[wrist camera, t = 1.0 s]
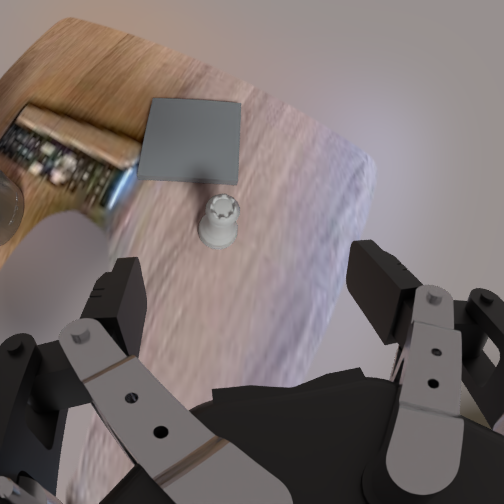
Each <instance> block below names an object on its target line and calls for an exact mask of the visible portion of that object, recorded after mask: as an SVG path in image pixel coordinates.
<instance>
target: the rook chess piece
mask: <svg viewBox="0 0 504 504" xmlns="http://www.w3.org/2000/svg"><path fill="white" fill-rule="evenodd" d="M205 212H206V215H204V216H203V217H202V219H201V221H200V224H199V230H198V233H199V236H200V239H201V241H202V242H203V243H204V244H205V245H206V246H208V247H210V248H212V249H224V248H227V247H229V246H230V245H231V244H232V243H233V242H234V241H235V238H236V236H237V230H238V225H237V223H236V220H237V219H238V217H239V215H240V207H239V205H238V202H237V201H236V200H235V199H234V198H233V197H231V196H229V195H227V194H219V195H215V196H213V197H212V198H211V199H209V201H208V203H207V204H206V211H205Z"/></svg>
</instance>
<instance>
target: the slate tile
mask: <svg viewBox="0 0 504 504" xmlns="http://www.w3.org/2000/svg"><path fill="white" fill-rule="evenodd" d="M240 120H241V103H233V102H222V101H209V100H194V99H172V98H153V100H152V105H151V109H150V113H149V118H148V122H147V127H146V131H145V136H144V141H143V146H142V151H141V157H140V162H139V168H138V173H137V176H138V179H139V180H160V181H181V182H198V183H213V184H227V185H237V183H238V167H239V143H240Z"/></svg>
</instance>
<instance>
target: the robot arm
mask: <svg viewBox="0 0 504 504" xmlns="http://www.w3.org/2000/svg"><path fill="white" fill-rule="evenodd" d="M23 210H24V199H23V195H22V193H21V191H20V189H19V188H18V187H17V185H15V184H14V183H13V182H12V181H11V180H10V179H9V178H8V177H7V176H6V175H5V174H4V173H3V172H2V171H1V170H0V246H1V245H3V244H4V243H6V242H7V241H8V240H9V239H10V238H11V237H12V236H13V235H14V233H15V232H16V230H17V229H18V227H19V224H20V222H21V219H22V216H23ZM346 284H347V288H348V291H349V292H350V294H351V295H352V297H353V298H354V300H355V301H356V303H357V304H358V305H359V307H360V309H361V310H362V311H363V313H364V314H365V316H366V317H367V319H368V320H369V322H370V323H371V325H372V326H373V328H374V329H375V331H376V333H377V334H378V335H379V337H380V339H381V340H382V342H383V343H384V345H388V344H392V343H398V344H399V346H398V349H397V351H396V355H395V359H394V363H393V367H392V371H391V375H390V379H389V380H385V379H380V378H372V377H365V376H364V374H363V372H362V370H361V368H360V367H359V368H355V369H349V370H345V371H339V372H334V373H329V374H325V375H323V376H321V377H318V378H316V379H313V380H311V381H308V382H306V383H303V384H301V385H298V386H296V387H291V388H284V387H267V386H253V385H249V386H240V387H230V388H219V389H212V396H213V400H211V401H208V402H205V403H203V404H200V405H198V406H196V407H194V408H192V409H190V410H189V411H188V410H187V409H186V408H185V407H184V406H183V405H182V404H181V403H180V402H179V401H178V400H177V399H176V398H175V397H174V396H173V395H172V394H171V393H170V392H169V391H168V390H167V389H166V388H165V387H164V386H163V385H162V384H161V383H160V382H159V381H158V380H157V379H156V378H155V377H154V376H153V375H152V373H151V372H150V371H149V370H148V369H147V368H146V367H145V366H144V365H143V364H142V363H141V362H140V360H139V359H138V357H139V351H140V345H141V339H142V333H143V327H144V322H145V316H146V311H147V297H146V291H145V286H144V281H143V277H142V272H141V266H140V262H139V259H138V257H128V258H118V259H117V261H116V263H115V265H114V268H113V270H112V272H106V273H104V274H103V275H102V276H101V277H100V278H99V279H98V280H97V281H96V283H95V285H94V287H93V291H92V292H91V294H90V298H88V301H87V303H86V305H85V308H84V310H83V312H82V314H81V317H80V319H78V320H75V321H73V322H71V323H69V324H68V325H66V326H65V327H64V328H63V329H62V330H61V332H60V334H59V340H56V341H53V342H49V343H45V344H41V345H37V344H36V342H35V340H34V338H33V337H32V336H31V335H29V334H26V333H20V334H16V335H13V336H11V337H9V338H8V339H6V340H5V341H4V342H3V343H2V344H1V346H0V504H63V503H62V502H61V501H60V500H59V499H57V498H56V487H57V478H58V469H59V461H60V454H61V447H62V441H63V435H64V429H65V423H66V418H67V412H68V408H70V407H75V406H79V405H83V404H87V403H91V404H92V406H93V408H94V409H95V411H96V412H97V414H98V415H99V417H100V418H101V420H102V421H103V423H104V424H105V426H106V427H107V429H108V430H109V432H110V433H111V435H112V436H113V437H114V439H115V440H116V442H117V443H118V444H119V446H120V447H121V449H122V450H123V451H124V453H125V454H126V456H127V457H128V458H129V460H130V461H131V462H132V464H133V465H134V467H133V468H132V469H131V470H130V471H129V472H128V474H127V475H126V476H125V477H124V478H123V479H122V480H121V481H120V482H119V483H118V484H117V485H116V486H115V487H114V488H113V489H112V490H111V491H110V492H109V494H108V495H107V496H106V497H105V498H104V499H103V500H102V501H101V502H100V503H99V504H504V302H503V301H502V300H501V299H500V298H499V297H498V296H497V295H496V294H494V293H493V292H491V291H489V290H486V289H481V288H476V289H473V290H472V291H471V293H470V295H469V298H468V301H458V300H453V298H452V296H451V295H450V294H449V293H448V292H447V291H446V290H444V289H442V288H440V287H438V286H434V285H423V284H422V283H421V282H420V281H419V280H418V279H417V278H416V277H415V276H414V275H413V274H412V273H411V272H410V271H409V270H407V268H406V267H405V266H404V265H402V264H401V262H400V261H399V260H398V259H397V258H396V257H395V256H393V255H391V254H389V253H387V252H385V251H383V250H382V249H381V248H380V247H379V246H378V245H377V244H376V243H375V242H374V241H372V240H359V241H353V242H352V244H351V247H350V254H349V261H348V268H347V274H346ZM488 337H489V338H490V339H491V340H492V341H493V343H494V344H495V345H496V346H497V348H498V349H499V352H500V361H499V363H498V365H497V367H495V366H494V364H493V363H492V362H491V360H490V359H489V358H488V357H487V355H486V354H485V353H484V351H483V350H482V349H483V347H484V345H485V343H486V341H487V339H488ZM461 380H462V382H463V383H464V385H465V386H466V387H467V389H468V391H469V393H470V394H471V396H472V397H473V399H474V401H475V402H476V404H477V405H478V407H479V409H480V410H481V412H482V414H483V415H484V417H485V419H486V420H487V422H488V424H489V425H490V427H491V429H492V430H491V429H489V428H487V427H485V426H482V425H480V424H478V423H476V422H474V421H472V420H470V419H468V418H466V417H464V416H462V415H460V399H461Z"/></svg>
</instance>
